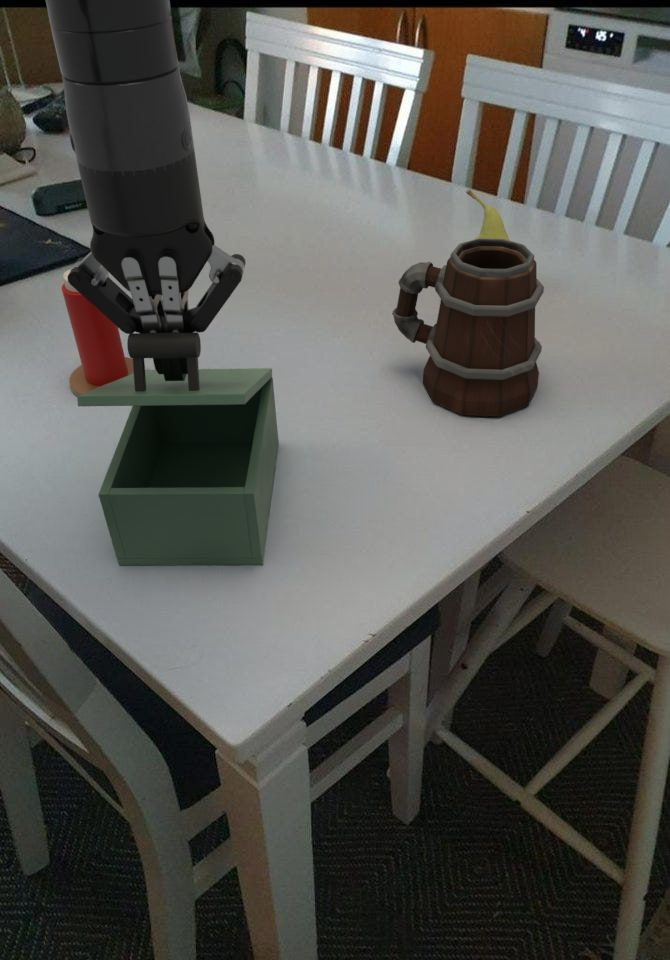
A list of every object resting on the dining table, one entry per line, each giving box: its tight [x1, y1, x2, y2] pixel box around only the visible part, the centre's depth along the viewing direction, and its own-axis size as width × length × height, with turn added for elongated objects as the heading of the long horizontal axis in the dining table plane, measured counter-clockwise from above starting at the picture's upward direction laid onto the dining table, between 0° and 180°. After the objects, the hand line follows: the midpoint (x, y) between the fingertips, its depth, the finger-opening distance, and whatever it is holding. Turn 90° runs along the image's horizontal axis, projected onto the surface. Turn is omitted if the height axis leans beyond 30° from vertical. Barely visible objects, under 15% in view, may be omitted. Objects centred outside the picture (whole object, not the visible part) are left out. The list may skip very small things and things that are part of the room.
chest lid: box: [76, 332, 273, 407], centre depth 66 cm, size 17×12×5 cm
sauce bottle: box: [61, 268, 128, 386], centre depth 85 cm, size 5×5×12 cm
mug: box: [392, 238, 545, 417], centre depth 82 cm, size 16×12×15 cm
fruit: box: [465, 188, 511, 241], centre depth 101 cm, size 7×8×12 cm
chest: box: [97, 376, 280, 566], centre depth 71 cm, size 17×12×8 cm
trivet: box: [68, 356, 134, 397], centre depth 89 cm, size 8×8×1 cm
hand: (176, 375), depth 63 cm, fingers closed
